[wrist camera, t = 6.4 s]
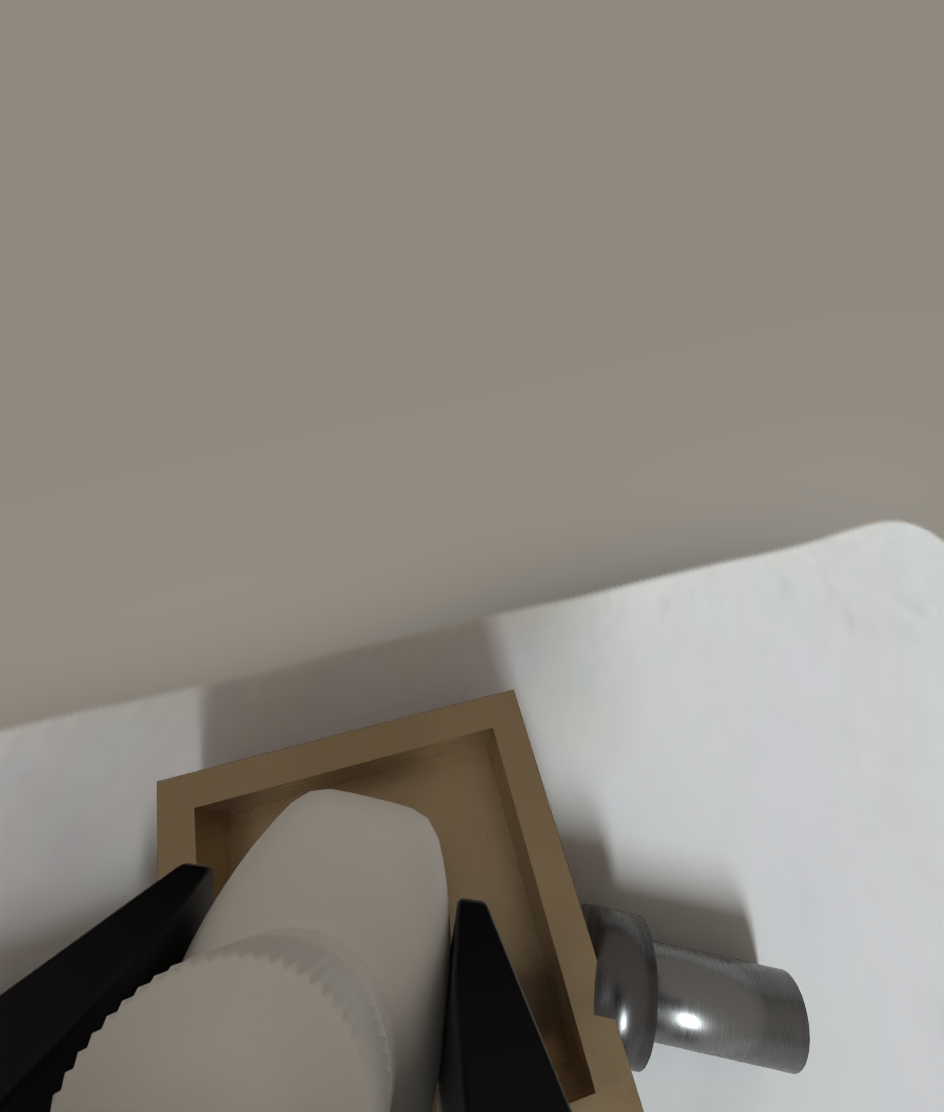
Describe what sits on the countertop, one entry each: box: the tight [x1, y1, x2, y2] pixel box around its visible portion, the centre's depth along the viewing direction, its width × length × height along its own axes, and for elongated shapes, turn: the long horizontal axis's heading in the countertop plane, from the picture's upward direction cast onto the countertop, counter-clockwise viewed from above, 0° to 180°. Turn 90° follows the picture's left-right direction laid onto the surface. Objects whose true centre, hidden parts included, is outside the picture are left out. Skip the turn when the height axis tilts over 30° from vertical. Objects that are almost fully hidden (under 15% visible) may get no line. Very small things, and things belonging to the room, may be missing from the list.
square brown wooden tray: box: [157, 690, 644, 1112], centre depth 16 cm, size 11×11×4 cm
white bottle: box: [50, 789, 451, 1112], centre depth 8 cm, size 4×6×12 cm
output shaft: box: [572, 904, 810, 1074], centre depth 16 cm, size 6×4×4 cm, turn 79°
